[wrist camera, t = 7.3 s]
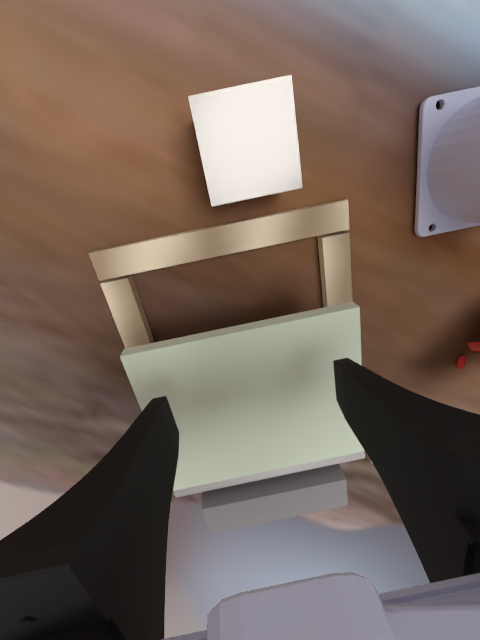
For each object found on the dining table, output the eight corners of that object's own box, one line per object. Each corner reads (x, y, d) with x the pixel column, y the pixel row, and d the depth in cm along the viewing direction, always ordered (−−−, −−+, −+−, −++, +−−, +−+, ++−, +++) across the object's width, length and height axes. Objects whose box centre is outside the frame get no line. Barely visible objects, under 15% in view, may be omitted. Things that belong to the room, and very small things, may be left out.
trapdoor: (347, 297, 16) (366, 312, 14) (355, 471, 22) (370, 500, 20) (127, 342, 16) (115, 363, 14) (189, 506, 22) (187, 538, 20)
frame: (341, 199, 20) (406, 203, 13) (353, 433, 28) (397, 508, 21) (94, 250, 20) (35, 279, 13) (177, 470, 28) (166, 556, 21)
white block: (270, 105, 18) (291, 74, 13) (281, 188, 19) (302, 187, 15) (194, 121, 18) (187, 96, 13) (211, 203, 19) (211, 206, 15)
